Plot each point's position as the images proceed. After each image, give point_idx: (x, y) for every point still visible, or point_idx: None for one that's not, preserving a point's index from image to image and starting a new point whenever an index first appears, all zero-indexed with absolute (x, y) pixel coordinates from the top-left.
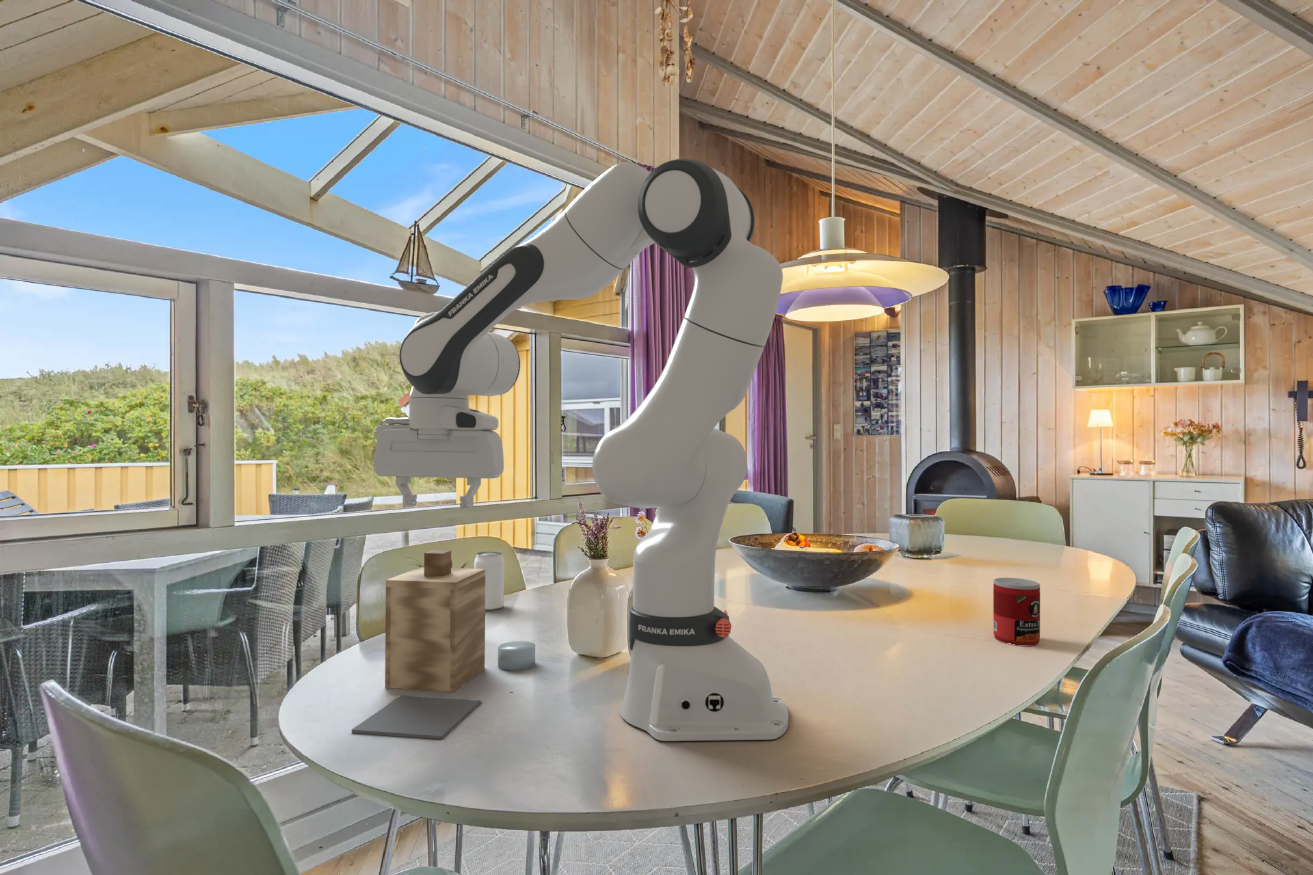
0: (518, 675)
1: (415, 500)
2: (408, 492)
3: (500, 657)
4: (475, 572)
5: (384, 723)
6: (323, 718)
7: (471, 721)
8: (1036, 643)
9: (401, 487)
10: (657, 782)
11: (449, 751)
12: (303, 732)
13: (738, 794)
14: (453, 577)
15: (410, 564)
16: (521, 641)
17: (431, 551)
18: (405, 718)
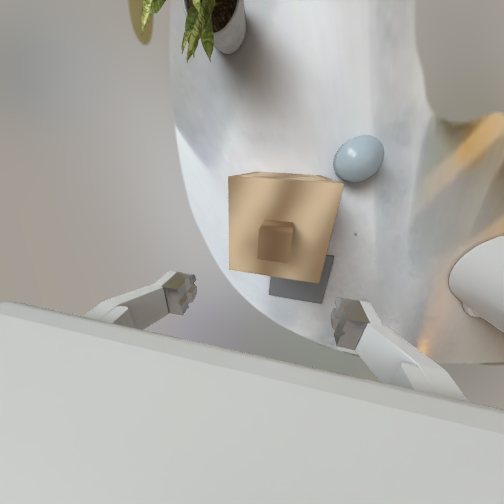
0: (358, 193)
1: (186, 282)
2: (160, 304)
3: (339, 175)
4: (331, 217)
5: (282, 288)
6: (243, 276)
7: (333, 282)
8: None
9: (141, 328)
10: (446, 347)
11: (329, 313)
12: (244, 292)
13: (490, 359)
14: (306, 254)
15: (144, 26)
16: (364, 137)
17: (262, 244)
18: (292, 282)
